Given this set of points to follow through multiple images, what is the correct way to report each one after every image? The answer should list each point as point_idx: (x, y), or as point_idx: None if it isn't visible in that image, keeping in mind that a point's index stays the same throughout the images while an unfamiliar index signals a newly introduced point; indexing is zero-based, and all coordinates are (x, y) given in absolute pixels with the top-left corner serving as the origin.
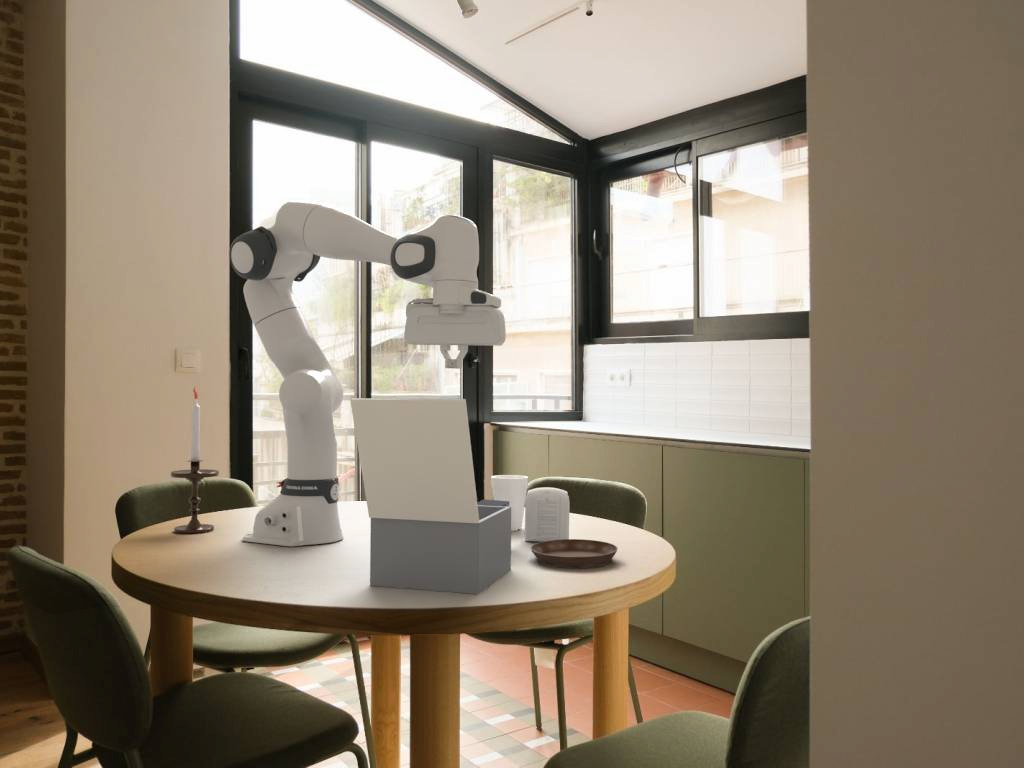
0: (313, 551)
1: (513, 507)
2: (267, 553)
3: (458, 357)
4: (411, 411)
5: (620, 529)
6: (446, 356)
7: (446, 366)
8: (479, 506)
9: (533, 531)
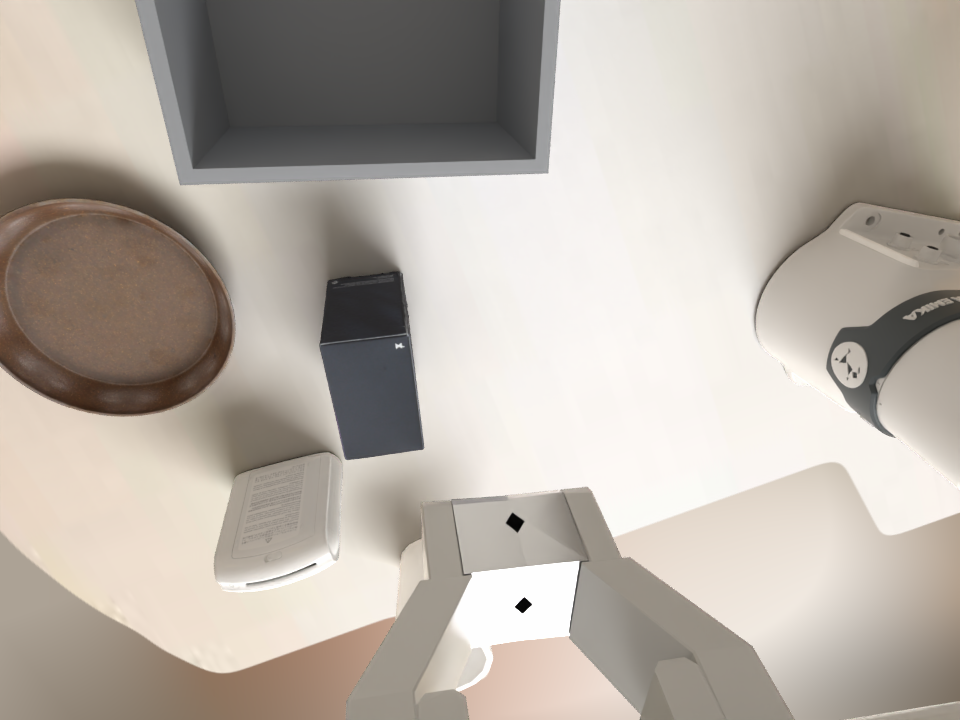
0: (790, 178)
1: (413, 582)
2: (895, 116)
3: (438, 593)
4: None
5: (187, 634)
6: (616, 583)
7: (575, 492)
8: (299, 166)
9: (311, 468)
